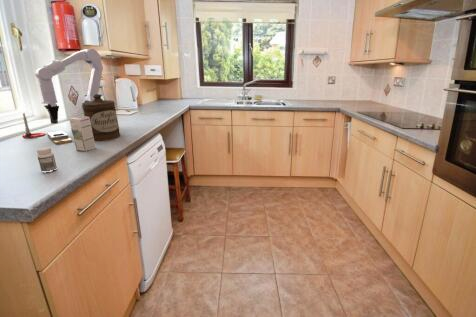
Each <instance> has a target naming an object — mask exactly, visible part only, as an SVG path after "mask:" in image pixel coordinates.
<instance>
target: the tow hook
mask: <svg viewBox="0 0 476 317" xmlns="http://www.w3.org/2000/svg"><path fill="white" fill-rule="evenodd" d="M22 117H23V124H24V127H25V128H24V130H25V134H22V138H25V139H35V138H37V137H38V138H40V137H43V136H45V135H46V133H45V132H34V133H33V132H32V133H31V130H30V127H29V124H28V119H27V117H26V114H25V112H24V113H22Z"/></svg>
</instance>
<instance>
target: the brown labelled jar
mask: <svg viewBox="0 0 476 317" xmlns="http://www.w3.org/2000/svg"><path fill="white" fill-rule="evenodd" d="M93 97H94V98H95V99H94V100H93V101H90V102H84V101H83V102H84V103H83V102H82V103H81V106H82V107H83V110H82V111H83V117H89V118H90V123H91V128H92V133H93V137H94V142H107V141H112V140H116V139H118V138H120V136H121V133H120V127H119V126H120V125H119V121H118V120H119V119H118V115H117V111H116V110H117V109H116V103H115V101H114V100H111V99H110V100H109V99H108V100H107V99H105V100H103V99H102V98H101V97H102V96H101V95H100V94H99V93H98V94H95V95H94V96H93ZM82 107H81V108H82Z"/></svg>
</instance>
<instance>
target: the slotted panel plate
mask: <svg viewBox="0 0 476 317" xmlns="http://www.w3.org/2000/svg"><path fill="white" fill-rule="evenodd" d="M47 138H48V139H49V140H50V141H51V142H52V143H53V144H54V145H61V144H68V143H72V142H73V140H72V138H71V137H69V134H67V133H66V132H65V131H64V130H58V131H53V132H51V131H50V132H47Z"/></svg>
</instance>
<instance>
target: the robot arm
mask: <svg viewBox="0 0 476 317" xmlns="http://www.w3.org/2000/svg"><path fill="white" fill-rule="evenodd" d="M78 61H84V62H86V63H87V64H88V65H89V66H90V68H91V72H90V78H89V82H88V88H87V94H86V96H85V98H84V101H83V102H82V103H84V102H90V101H93V100H94V99H95V98H94V97H93V96H94V95H95V94H99V91H100V85H101V82H102V81H101V80H102V77H103V76H102V75H103V69H104V66H103V63H102V60H101V55H100V54H99V52H98V51H97V50H96V49H94V48H85V49H82V50H80V51H79V50H78V51H77V52H74V53H72V54H71V55H69V56H67V57H65V58H64V59H62V60H59V59H56V60H55V59H53V60H51V62H50V63H48V64H43V65H42V67H40V68H37V69H36V70H35V77H36V78H37V79H38V82H39V84H38V85H39V87H40V92H41V95H42V96H41V97H42V100H43V101H41V102H40V103H41V104H46V105H43V106H44V108H45V109H46V111H47V112H48V113H49V112H50V114H51V117H52V119H53V120H56V119H59V108H60V105H58V104H57V103H58V100H57V95H56V91H55V87H54V83H53V80H52V79H53V78H54V77H55V76H56V75H59V74H60V73H63V72H64V71H66V67H68V66H70V65H72V64H74V63H76V62H78ZM47 109H48V110H49V111H48V110H47ZM81 109H82V111H83V107H82V105H81Z"/></svg>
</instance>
